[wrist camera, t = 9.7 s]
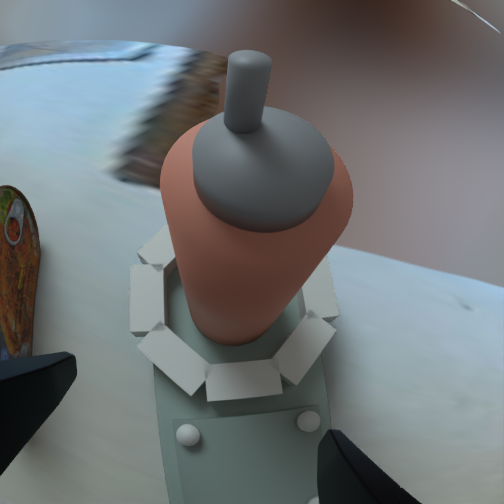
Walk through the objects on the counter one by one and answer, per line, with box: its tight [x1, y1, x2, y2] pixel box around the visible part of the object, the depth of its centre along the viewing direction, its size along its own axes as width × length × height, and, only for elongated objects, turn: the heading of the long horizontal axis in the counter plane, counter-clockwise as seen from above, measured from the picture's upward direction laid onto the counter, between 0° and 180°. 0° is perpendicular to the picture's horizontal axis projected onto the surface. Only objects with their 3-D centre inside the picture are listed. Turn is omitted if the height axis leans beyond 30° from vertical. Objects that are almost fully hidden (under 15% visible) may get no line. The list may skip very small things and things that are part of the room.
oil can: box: [160, 50, 353, 346], centre depth 13 cm, size 5×5×15 cm
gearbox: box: [130, 223, 339, 504], centre depth 18 cm, size 21×12×5 cm, turn 6°
